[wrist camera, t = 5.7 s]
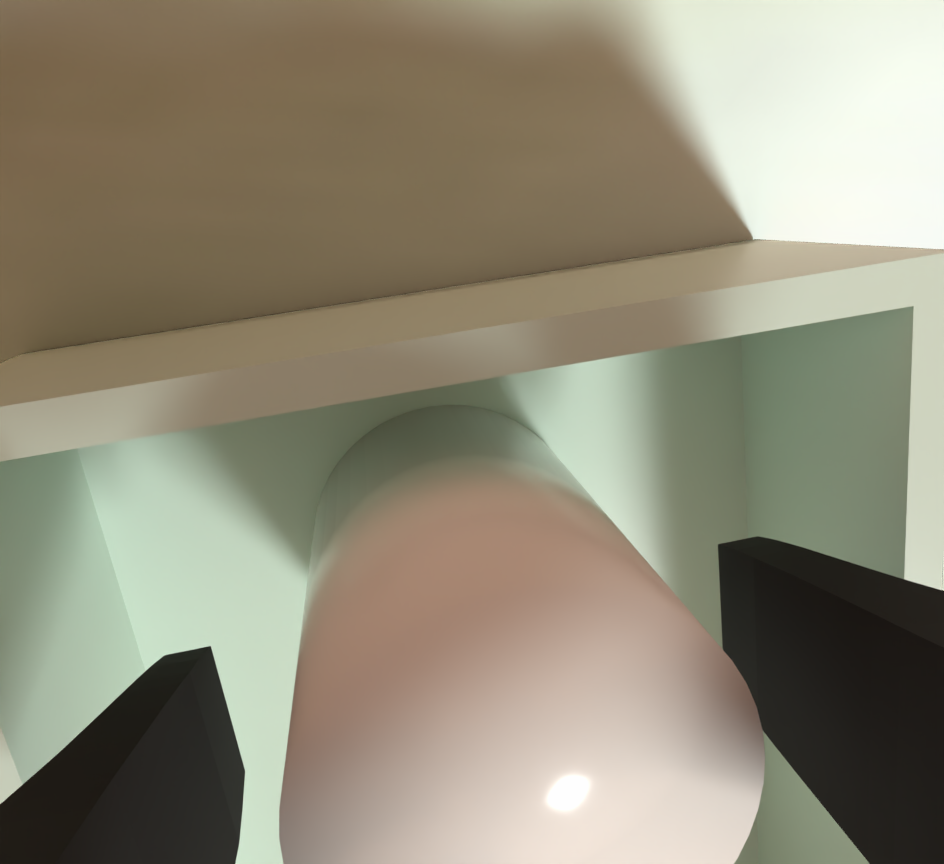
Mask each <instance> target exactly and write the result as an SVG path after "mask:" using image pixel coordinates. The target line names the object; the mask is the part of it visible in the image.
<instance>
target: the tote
mask: <svg viewBox="0 0 944 864" xmlns="http://www.w3.org/2000/svg"><path fill="white" fill-rule="evenodd" d="M442 405H466V406H472V407H478V408H484V409H487V410H491V411H494V412H497V413H500V414H503V415H505V416H507V417H509V418H511V419H513V420H516V421H517V422H519V423H520V424H522V425H524V426H525V427H527V428H528V429H530V430H531V431H532V432H533V433H535V434H536V435H537V436H538V437H539V438H540V439H542V440H543V441H544V442H545V444H546V445H547V446H548V447H549V448H550V449H551V450H552V451H553V453H554V454H555V455H556V456H557V457H558V458H559V460H560V461H561V462H562V463H563V464H564V465H565V467H566V468H567V469H568V470H569V471H570V472H571V474H572V475H573V476H574V477H575V478H576V479H577V481H578V482H579V483H580V484H581V485H582V486H583V488H584V489H585V490H586V491H587V492H588V493H589V495H590V496H591V497H592V498H593V499H594V500H595V501H596V503H597V504H598V505H599V506H600V507H601V508H602V510H603V511H604V512H605V513H606V514H607V515H608V517H609V518H610V519H611V520H612V521H613V522H614V524H615V525H616V526H617V527H618V528H619V529H620V531H621V532H622V533H623V534H624V535H625V536H626V538H627V539H628V540H629V541H630V542H631V543H632V545H633V546H634V547H635V548H636V549H637V550H638V552H639V553H640V554H641V555H642V556H643V557H644V559H645V560H646V561H647V562H648V563H649V564H650V566H651V567H652V568H653V569H654V570H655V571H656V573H657V574H658V575H659V576H660V577H661V578H662V580H663V581H664V582H665V583H666V584H667V585H668V586H669V588H670V589H671V590H672V591H673V592H674V593H675V595H676V596H677V597H678V598H679V599H680V600H681V602H682V603H683V604H684V605H685V606H686V607H687V609H688V610H689V611H690V612H691V613H692V614H693V616H694V617H695V618H696V619H697V620H698V621H699V623H700V624H701V625H702V626H703V627H704V628H705V630H706V631H707V632H708V633H709V634H710V635H711V637H712V638H713V639H714V640H715V641H716V642H717V644H718V645H719V646H720V647H721V648H722V649H723V645H722V624H721V602H720V581H719V559H718V544H721V543H726V542H731V541H736V540H741V539H746V538H751V537H756V536H759V537H765V538H770V539H774V540H778V541H782V542H786V543H789V544H793V545H796V546H800V547H803V548H806V549H810V550H813V551H816V552H819V553H822V554H825V555H829V556H832V557H835V558H838V559H841V560H844V561H847V562H851V563H854V564H857V565H860V566H863V567H866V568H869V569H873V570H876V571H879V572H882V573H885V574H889V575H892V576H895V577H898V578H902V579H905V580H908V581H912V582H915V583H918V584H922V585H925V586H929V587H932V588H936V589H939V590H942V584H943V564H944V250H943V249H924V248H906V247H888V246H870V245H851V244H833V243H815V242H796V241H778V240H760V239H754V240H747V241H741V242H735V243H728V244H722V245H716V246H709V247H703V248H696V249H690V250H684V251H677V252H671V253H664V254H658V255H652V256H645V257H639V258H632V259H626V260H620V261H613V262H607V263H600V264H594V265H588V266H581V267H575V268H568V269H562V270H556V271H549V272H543V273H536V274H530V275H524V276H517V277H511V278H505V279H498V280H492V281H485V282H479V283H473V284H466V285H460V286H453V287H447V288H441V289H434V290H428V291H421V292H415V293H409V294H402V295H396V296H389V297H383V298H377V299H370V300H364V301H357V302H351V303H345V304H338V305H332V306H325V307H319V308H313V309H306V310H300V311H294V312H287V313H281V314H274V315H268V316H262V317H255V318H249V319H242V320H236V321H230V322H223V323H217V324H210V325H204V326H198V327H191V328H185V329H178V330H172V331H166V332H159V333H153V334H146V335H140V336H134V337H127V338H121V339H114V340H108V341H102V342H95V343H89V344H83V345H76V346H70V347H63V348H57V349H51V350H44V351H38V352H31V353H25V354H21V355H18V356H16V357H14V358H11V359H9V360H6V361H4V362H1V363H0V804H1V803H2V802H3V801H4V800H6V799H7V798H8V797H9V796H10V795H11V794H12V793H14V792H15V791H16V790H17V789H18V788H19V787H20V786H22V785H23V784H24V783H25V782H26V781H27V780H28V779H30V778H31V777H32V776H33V775H34V774H35V773H36V772H38V771H39V770H40V769H41V768H42V767H43V766H44V765H46V764H47V763H48V762H49V761H50V760H51V759H52V758H54V757H55V756H56V755H57V754H58V753H59V752H60V751H61V750H62V749H63V748H65V747H66V746H67V745H68V744H69V743H70V742H71V741H72V740H73V739H74V738H75V737H76V736H77V735H78V734H79V733H80V732H82V731H83V730H84V729H85V728H86V727H87V726H88V725H89V724H90V723H91V722H92V721H93V720H94V719H95V718H96V717H97V716H98V715H100V714H101V713H102V712H103V711H104V710H105V709H106V708H107V707H108V706H109V705H110V704H111V703H112V702H113V701H114V700H115V699H116V698H117V697H118V696H119V695H121V694H122V693H123V692H124V691H125V690H126V689H127V688H128V687H129V686H130V685H131V684H132V683H133V682H134V681H135V680H136V679H137V678H139V677H140V676H141V675H142V674H143V673H144V672H145V671H146V670H147V669H148V668H150V667H151V666H152V665H153V664H154V663H155V662H157V661H158V660H159V659H160V658H162V657H163V656H164V655H168V654H173V653H178V652H183V651H188V650H193V649H198V648H203V647H208V646H211V649H212V652H213V656H214V660H215V663H216V667H217V671H218V674H219V678H220V681H221V685H222V689H223V692H224V696H225V700H226V703H227V707H228V710H229V714H230V718H231V721H232V725H233V729H234V732H235V736H236V740H237V743H238V747H239V750H240V754H241V758H242V761H243V765H244V769H245V781H244V795H243V809H242V820H241V830H240V841H239V847H238V852H237V857H236V863H235V864H283V858H282V852H281V846H280V840H279V807H280V799H281V791H282V783H283V775H284V766H285V758H286V750H287V742H288V734H289V726H290V718H291V710H292V701H293V693H294V685H295V677H296V669H297V661H298V653H299V645H300V636H301V628H302V620H303V612H304V604H305V596H306V588H307V580H308V571H309V563H310V555H311V547H312V539H313V531H314V523H315V517H316V511H317V506H318V503H319V500H320V496H321V493H322V490H323V488H324V486H325V484H326V482H327V480H328V478H329V476H330V474H331V473H332V471H333V469H334V468H335V466H336V465H337V463H338V462H339V460H340V459H341V458H342V457H343V456H344V455H345V453H346V452H347V451H348V450H349V449H350V448H351V447H352V446H353V445H354V444H355V443H356V442H357V441H358V440H359V439H361V438H362V437H363V436H364V435H365V434H367V433H368V432H370V431H371V430H373V429H374V428H376V427H377V426H378V425H380V424H382V423H384V422H386V421H388V420H390V419H392V418H394V417H396V416H399V415H402V414H404V413H407V412H410V411H413V410H417V409H422V408H426V407H431V406H442ZM763 739H764V750H765V768H764V784H763V788H762V793H761V798H760V803H759V808H758V811H757V814H756V817H755V820H754V823H753V826H752V828H751V831H750V834H749V836H748V838H747V840H746V842H745V844H744V846H743V848H742V850H741V852H740V854H739V856H738V858H737V860H736V861H735V863H734V864H869V862H868V861H867V860H866V859H865V857H864V856H863V855H862V854H861V852H860V851H859V850H858V849H857V847H856V846H855V845H854V844H853V842H852V841H851V840H850V839H849V838H848V836H847V835H846V834H845V833H844V831H843V830H842V829H841V828H840V826H839V825H838V824H837V823H836V821H835V820H834V819H833V818H832V816H831V815H830V814H829V813H828V812H827V810H826V809H825V808H824V807H823V805H822V804H821V803H820V802H819V800H818V799H817V798H816V797H815V795H814V794H813V793H812V792H811V790H810V789H809V788H808V787H807V786H806V784H805V783H804V782H803V781H802V779H801V778H800V777H799V776H798V774H797V773H796V772H795V771H794V769H793V768H792V767H791V766H790V764H789V763H788V762H787V761H786V759H785V758H784V757H783V756H782V754H781V753H780V752H779V751H778V749H777V748H776V747H775V745H774V744H773V743H772V742H771V740H770V739H769V738H768V737H767V735H766V734H765V733H764V731H763Z"/></svg>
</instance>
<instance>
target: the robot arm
mask: <svg viewBox="0 0 944 864" xmlns="http://www.w3.org/2000/svg"><path fill="white" fill-rule="evenodd" d="M718 559H719V581H720V602H721V624H722V645H723V651H724V652H725V653H726V654H727V655H728V656H729V658H730V659H731V660H732V661H733V663H734V664H735V666H736V667H737V669H738V671H739V672H740V674H741V675H742V677H743V678H744V680H745V681H746V683H747V685H748V688H749V690H750V692H751V695H752V697H753V699H754V702H755V704H756V706H757V710H758V714H759V718H760V722H761V726H762V730H763V731H764V733H765V734H766V735H767V737H768V738H769V739H770V740H771V742H772V743H773V744H774V745H775V747H776V748H777V749H778V751H779V752H780V753H781V754H782V756H783V757H784V758H785V759H786V761H787V762H788V763H789V764H790V766H791V767H792V768H793V769H794V771H795V772H796V773H797V774H798V776H799V777H800V778H801V779H802V781H803V782H804V783H805V784H806V786H807V787H808V788H809V789H810V790H811V792H812V793H813V794H814V795H815V797H816V798H817V799H818V800H819V802H820V803H821V804H822V805H823V807H824V808H825V809H826V810H827V812H828V813H829V814H830V815H831V816H832V818H833V819H834V820H835V821H836V823H837V824H838V825H839V826H840V828H841V829H842V830H843V831H844V833H845V834H846V835H847V836H848V838H849V839H850V840H851V841H852V842H853V844H854V845H855V846H856V847H857V849H858V850H859V851H860V852H861V854H862V855H863V856H864V857H865V859H866V860H867V861H868V862H869V864H944V591H943V590H939V589H936V588H932V587H929V586H925V585H922V584H918V583H915V582H912V581H908V580H905V579H902V578H898V577H895V576H892V575H889V574H885V573H882V572H879V571H876V570H873V569H869V568H866V567H863V566H860V565H857V564H854V563H851V562H847V561H844V560H841V559H838V558H835V557H832V556H829V555H825V554H822V553H819V552H816V551H813V550H810V549H806V548H803V547H800V546H796V545H793V544H789V543H786V542H782V541H778V540H774V539H770V538H765V537H759V536H756V537H751V538H746V539H741V540H736V541H731V542H726V543H721V544H718ZM244 781H245V769H244V765H243V761H242V758H241V754H240V750H239V747H238V743H237V740H236V736H235V732H234V729H233V725H232V721H231V718H230V714H229V710H228V707H227V703H226V700H225V696H224V692H223V689H222V685H221V681H220V678H219V674H218V671H217V667H216V663H215V660H214V656H213V652H212V649H211V646H208V647H203V648H198V649H193V650H188V651H183V652H178V653H173V654H168V655H164V656H163V657H162V658H160V659H159V660H158V661H157V662H155V663H154V664H153V665H152V666H151V667H150V668H148V669H147V670H146V671H145V672H144V673H143V674H142V675H141V676H140V677H139V678H137V679H136V680H135V681H134V682H133V683H132V684H131V685H130V686H129V687H128V688H127V689H126V690H125V691H124V692H123V693H122V694H121V695H119V696H118V697H117V698H116V699H115V700H114V701H113V702H112V703H111V704H110V705H109V706H108V707H107V708H106V709H105V710H104V711H103V712H102V713H101V714H100V715H98V716H97V717H96V718H95V719H94V720H93V721H92V722H91V723H90V724H89V725H88V726H87V727H86V728H85V729H84V730H83V731H82V732H80V733H79V734H78V735H77V736H76V737H75V738H74V739H73V740H72V741H71V742H70V743H69V744H68V745H67V746H66V747H65V748H63V749H62V750H61V751H60V752H59V753H58V754H57V755H56V756H55V757H54V758H52V759H51V760H50V761H49V762H48V763H47V764H46V765H44V766H43V767H42V768H41V769H40V770H39V771H38V772H36V773H35V774H34V775H33V776H32V777H31V778H30V779H28V780H27V781H26V782H25V783H24V784H23V785H22V786H20V787H19V788H18V789H17V790H16V791H15V792H14V793H12V794H11V795H10V796H9V797H8V798H7V799H6V800H4V801H3V802H2V803H1V804H0V864H235V863H236V857H237V852H238V847H239V841H240V830H241V820H242V809H243V795H244Z"/></svg>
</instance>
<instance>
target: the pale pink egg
mask: <svg viewBox="0 0 944 864" xmlns="http://www.w3.org/2000/svg"><path fill="white" fill-rule="evenodd" d="M764 768H765V750H764V739H763V730H762V726H761V722H760V718H759V714H758V710H757V706H756V704H755V702H754V699H753V697H752V695H751V692H750V690H749V688H748V685H747V683H746V681H745V680H744V678H743V677H742V675H741V674H740V672H739V671H738V669H737V667H736V666H735V664H734V663H733V661H732V660H731V659H730V658H729V656H728V655H727V654H726V653H725V652H724V651H723V649H722V648H721V647H720V646H719V645H718V644H717V642H716V641H715V640H714V639H713V638H712V637H711V635H710V634H709V633H708V632H707V631H706V630H705V628H704V627H703V626H702V625H701V624H700V623H699V621H698V620H697V619H696V618H695V617H694V616H693V614H692V613H691V612H690V611H689V610H688V609H687V607H686V606H685V605H684V604H683V603H682V602H681V600H680V599H679V598H678V597H677V596H676V595H675V593H674V592H673V591H672V590H671V589H670V588H669V586H668V585H667V584H666V583H665V582H664V581H663V580H662V578H661V577H660V576H659V575H658V574H657V573H656V571H655V570H654V569H653V568H652V567H651V566H650V564H649V563H648V562H647V561H646V560H645V559H644V557H643V556H642V555H641V554H640V553H639V552H638V550H637V549H636V548H635V547H634V546H633V545H632V543H631V542H630V541H629V540H628V539H627V538H626V536H625V535H624V534H623V533H622V532H621V531H620V529H619V528H618V527H617V526H616V525H615V524H614V522H613V521H612V520H611V519H610V518H609V517H608V515H607V514H606V513H605V512H604V511H603V510H602V508H601V507H600V506H599V505H598V504H597V503H596V501H595V500H594V499H593V498H592V497H591V496H590V495H589V493H588V492H587V491H586V490H585V489H584V488H583V486H582V485H581V484H580V483H579V482H578V481H577V479H576V478H575V477H574V476H573V475H572V474H571V472H570V471H569V470H568V469H567V468H566V467H565V465H564V464H563V463H562V462H561V461H560V460H559V458H558V457H557V456H556V455H555V454H554V453H553V451H552V450H551V449H550V448H549V447H548V446H547V445H546V444H545V442H544V441H543V440H542V439H540V438H539V437H538V436H537V435H536V434H535V433H533V432H532V431H531V430H530V429H528V428H527V427H525V426H524V425H522V424H520V423H519V422H517V421H516V420H513V419H511V418H509V417H507V416H505V415H503V414H500V413H497V412H494V411H491V410H487V409H484V408H478V407H472V406H466V405H442V406H431V407H426V408H422V409H417V410H413V411H410V412H407V413H404V414H402V415H399V416H396V417H394V418H392V419H390V420H388V421H386V422H384V423H382V424H380V425H378V426H377V427H376V428H374V429H373V430H371V431H370V432H368V433H367V434H365V435H364V436H363V437H362V438H361V439H359V440H358V441H357V442H356V443H355V444H354V445H353V446H352V447H351V448H350V449H349V450H348V451H347V452H346V453H345V455H344V456H343V457H342V458H341V459H340V460H339V462H338V463H337V465H336V466H335V468H334V469H333V471H332V473H331V474H330V476H329V478H328V480H327V482H326V484H325V486H324V488H323V490H322V493H321V496H320V500H319V503H318V506H317V511H316V517H315V523H314V531H313V539H312V547H311V555H310V563H309V571H308V580H307V588H306V596H305V604H304V612H303V620H302V628H301V636H300V645H299V653H298V661H297V669H296V677H295V685H294V693H293V701H292V710H291V718H290V726H289V734H288V742H287V750H286V758H285V766H284V775H283V783H282V791H281V799H280V807H279V840H280V846H281V852H282V858H283V864H734V863H735V861H736V860H737V858H738V856H739V854H740V852H741V850H742V848H743V846H744V844H745V842H746V840H747V838H748V836H749V834H750V831H751V828H752V826H753V823H754V820H755V817H756V814H757V811H758V808H759V803H760V798H761V793H762V788H763V784H764Z"/></svg>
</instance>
